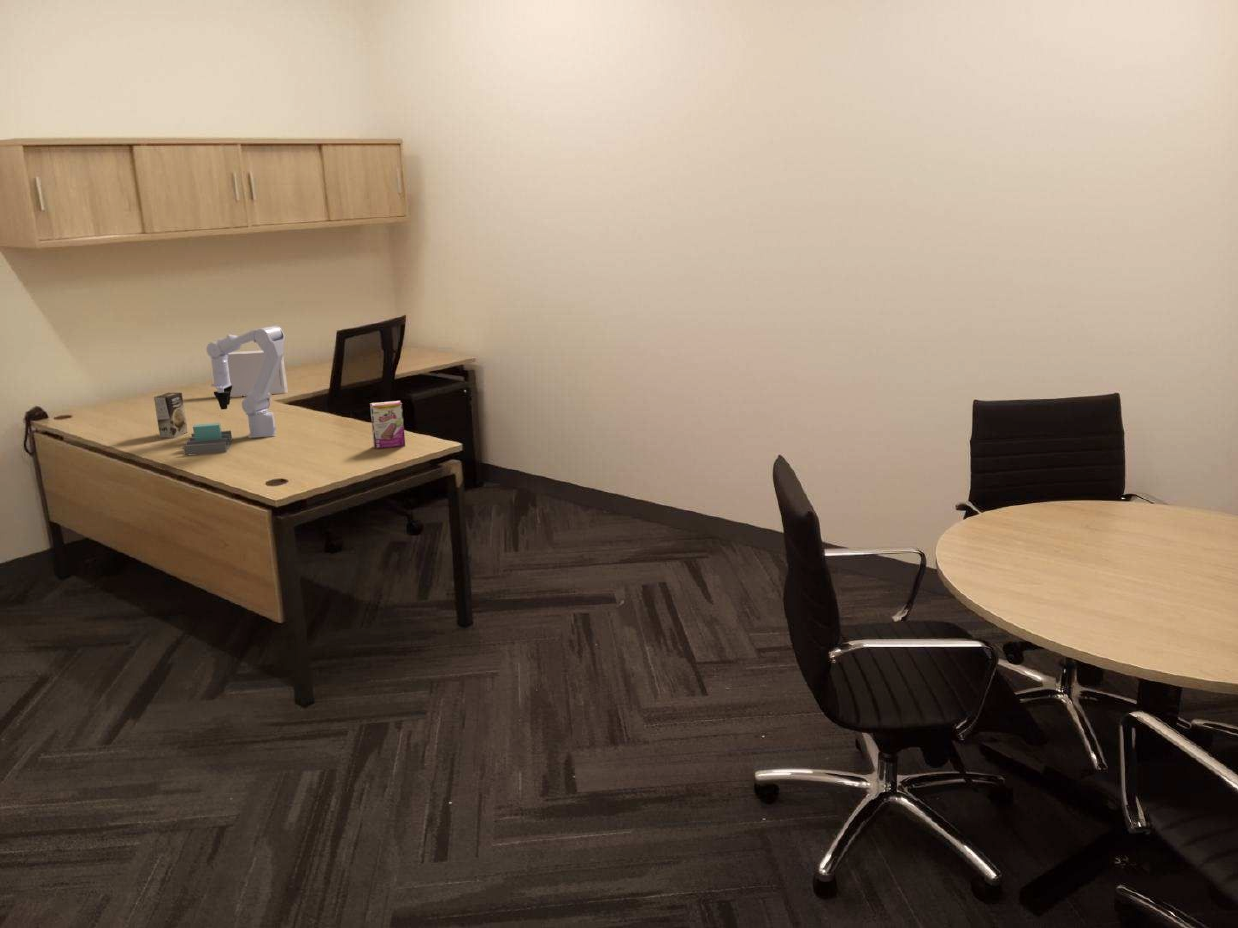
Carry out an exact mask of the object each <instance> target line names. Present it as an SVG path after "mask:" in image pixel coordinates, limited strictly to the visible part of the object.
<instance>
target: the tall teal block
mask: <svg viewBox="0 0 1238 928" xmlns="http://www.w3.org/2000/svg"><path fill="white" fill-rule="evenodd" d="M192 429H193V433H194V437H195V441H198V440H211V439H223V438H222V431H223V430H222V426H221V422H215V423H203V424H202V423H201V424H194V425H193V426H192Z"/></svg>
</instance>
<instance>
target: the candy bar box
mask: <svg viewBox="0 0 1238 928" xmlns="http://www.w3.org/2000/svg"><path fill="white" fill-rule="evenodd" d="M369 406H370V407H369V408H370V417H371V428H372V429H371V430H372V443H373V447H374V449H375V450H379V449H388V448H389V449H390V448H398V447H405V446H406V439H405V437H406V436H405V425H404V424H405V423H404V413H403V403H402V402H401V400H392V401H391V400H390V401H384V402H383V401H381V402H371V403H369Z"/></svg>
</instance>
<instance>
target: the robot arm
mask: <svg viewBox="0 0 1238 928" xmlns="http://www.w3.org/2000/svg"><path fill="white" fill-rule="evenodd" d="M285 339H286V336H285V333H284V331H283V329H282V328H281V327H280V326H279V325H276V324H275V325H274V324H273V325H272V326H266V327H260V328H256V329H252V330H250V331H247V332H246V333H243V334H241V335H239V336H238V335H236V334H235V335H234V334H231V333H230V334H228V335H226V337H225V338H218V339H217V341H214V342H213V341H212V342H210V343H208V344H207V345H206V353H207V355H208V356H209V357H210V359H211V367H212V368H211V369H212V375H213V383H211V387H214V388H215V389H216V391H213V395H214V397H216V400H217V402H218V405H219V407H220V410H228V406H229V405H231V404H230V402H231V398H230V394H231V389H232V385H231V383H230V376H229V368H228V361H227V359H228V354H229V353H231V352H237V351H239V350H241V348H242V345H244V344H246V343H250V342H252V341H253V343H256V344H257V346H259V348H260V349H261V350H263V352H264V353H265V354H266V355H267V356H266V358H265V361H264V363H263V366H262V368H261V371H260V374H259V376H258V379H257V381H256V384H255V386H254V389H253V390H252V391H251V392H250V393H249V394H248V395H247V396H245V398H244V399H243V400H242V401H241V408H242V410H243V411H244V412H245V415H247V419H248V428H249V435H248V439H253V438H255V439H256V438H266V437H267V438H268V437H274V436H276V431H277V428H276V423H275V415H274V412H273V411H269V408H270V406H271V397H272V394H270V393H269V390H270V387H271V385H272V382H273V380H274V377H275V375H276V372H277V370H278V367H279V365H280V362H281V360H282V357H284V342H285Z"/></svg>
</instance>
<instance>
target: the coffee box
mask: <svg viewBox="0 0 1238 928" xmlns="http://www.w3.org/2000/svg"><path fill="white" fill-rule="evenodd" d="M153 401H154V407H155V413H156V420H157V421H156V422H157V426H158V434H159V438H164V437H165V439H166V437H167V439H174V438H173V437H175V438H177V437H179V435H180V436H182V435H184V433H185V434H186V432H187V433H188V432H189V430H188V424H187V419H186V411H185V405H184V399H183V393H182V392H167V393H164V394H163V393H162V394H160V395H157V396H156V395H155V396H154V397H153Z"/></svg>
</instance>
